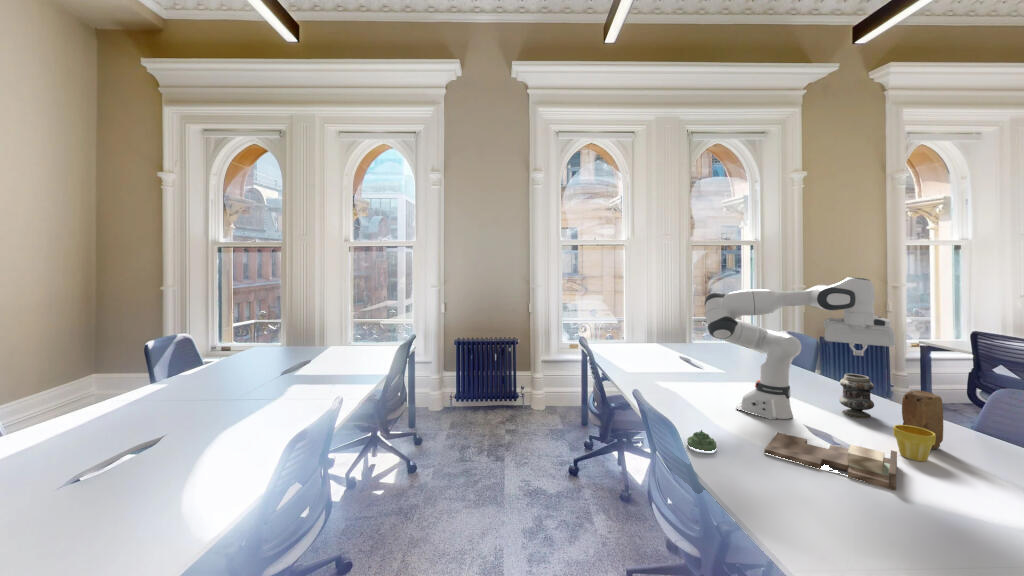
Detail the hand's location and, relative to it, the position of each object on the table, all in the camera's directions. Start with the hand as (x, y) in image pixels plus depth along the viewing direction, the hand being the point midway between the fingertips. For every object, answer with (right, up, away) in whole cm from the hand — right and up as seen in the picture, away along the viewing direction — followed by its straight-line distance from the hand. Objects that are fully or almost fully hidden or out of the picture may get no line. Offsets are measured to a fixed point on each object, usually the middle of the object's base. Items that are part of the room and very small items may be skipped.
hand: (858, 355), depth 147 cm
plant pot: (+10, -35, -11) cm, 37 cm away
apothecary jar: (+26, -33, +30) cm, 51 cm away
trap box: (-21, -35, -12) cm, 43 cm away
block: (+23, -34, -1) cm, 41 cm away
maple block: (-15, -33, -19) cm, 41 cm away
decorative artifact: (-60, -36, 0) cm, 70 cm away
